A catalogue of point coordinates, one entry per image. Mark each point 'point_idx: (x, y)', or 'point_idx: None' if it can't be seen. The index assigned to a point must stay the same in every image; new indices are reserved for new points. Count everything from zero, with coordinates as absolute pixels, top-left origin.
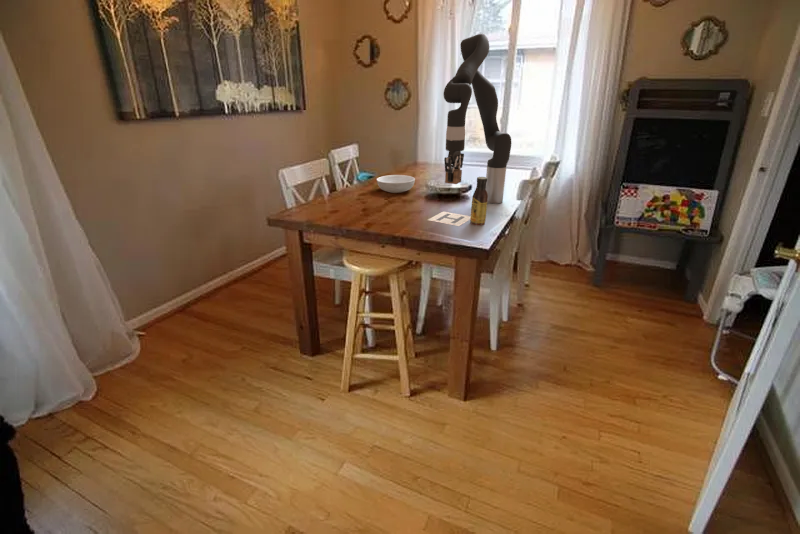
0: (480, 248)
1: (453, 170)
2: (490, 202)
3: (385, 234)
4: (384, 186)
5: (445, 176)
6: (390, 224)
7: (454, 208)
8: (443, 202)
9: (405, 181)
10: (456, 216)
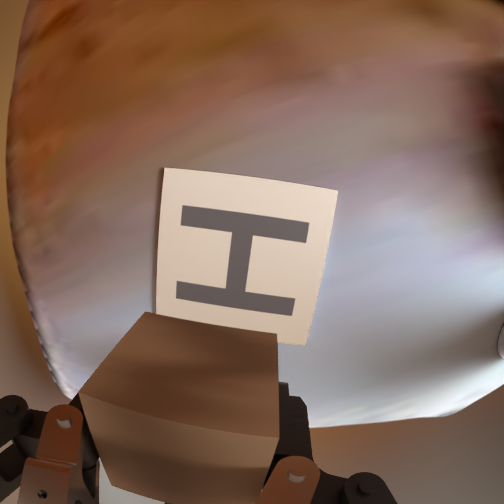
0: (59, 389)
1: (87, 474)
2: (501, 332)
3: (8, 119)
4: None
5: (116, 347)
6: (80, 64)
7: (422, 222)
8: (482, 149)
9: None
10: (280, 278)
